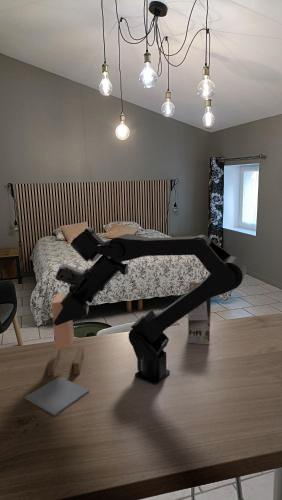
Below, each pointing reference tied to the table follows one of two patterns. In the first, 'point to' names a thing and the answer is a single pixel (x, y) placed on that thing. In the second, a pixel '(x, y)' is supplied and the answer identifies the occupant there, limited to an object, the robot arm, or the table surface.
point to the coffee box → (199, 322)
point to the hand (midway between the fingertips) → (57, 319)
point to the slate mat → (56, 395)
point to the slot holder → (56, 356)
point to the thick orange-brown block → (61, 326)
